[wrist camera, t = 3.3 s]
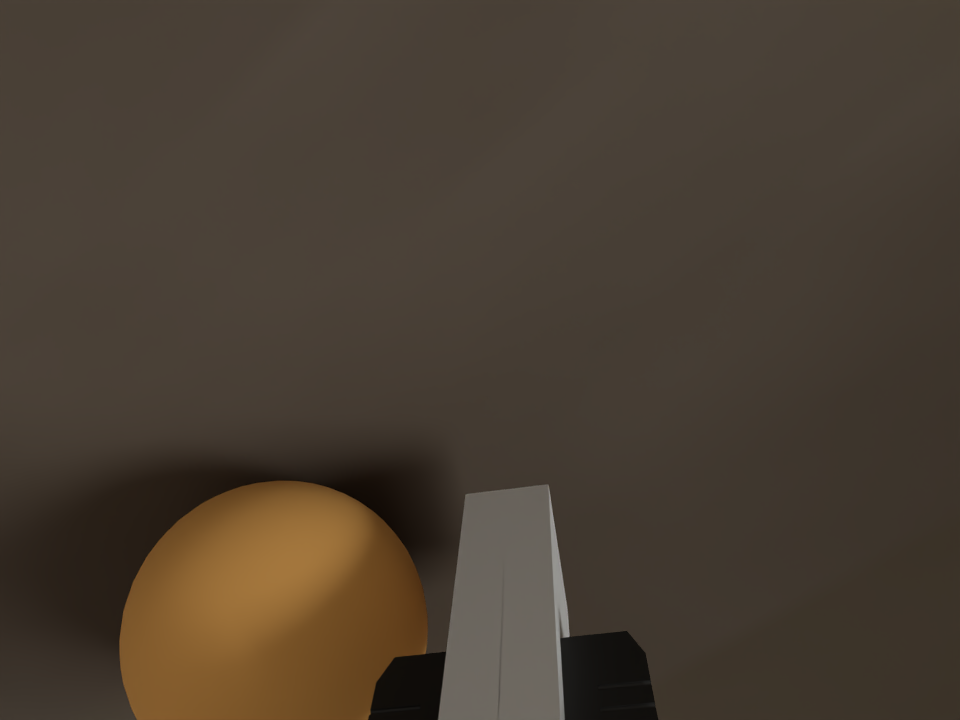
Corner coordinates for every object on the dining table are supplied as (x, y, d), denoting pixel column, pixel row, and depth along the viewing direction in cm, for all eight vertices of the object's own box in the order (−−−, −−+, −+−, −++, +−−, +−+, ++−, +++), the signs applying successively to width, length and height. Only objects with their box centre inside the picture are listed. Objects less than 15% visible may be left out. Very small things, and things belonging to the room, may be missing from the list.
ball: (463, 637, 20) (441, 853, 15) (228, 668, 20) (126, 886, 15) (409, 412, 18) (360, 569, 13) (151, 454, 19) (7, 619, 13)
